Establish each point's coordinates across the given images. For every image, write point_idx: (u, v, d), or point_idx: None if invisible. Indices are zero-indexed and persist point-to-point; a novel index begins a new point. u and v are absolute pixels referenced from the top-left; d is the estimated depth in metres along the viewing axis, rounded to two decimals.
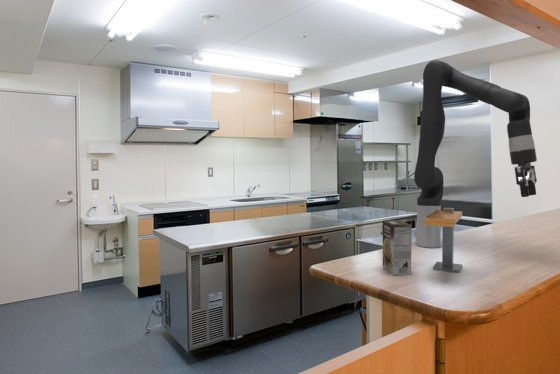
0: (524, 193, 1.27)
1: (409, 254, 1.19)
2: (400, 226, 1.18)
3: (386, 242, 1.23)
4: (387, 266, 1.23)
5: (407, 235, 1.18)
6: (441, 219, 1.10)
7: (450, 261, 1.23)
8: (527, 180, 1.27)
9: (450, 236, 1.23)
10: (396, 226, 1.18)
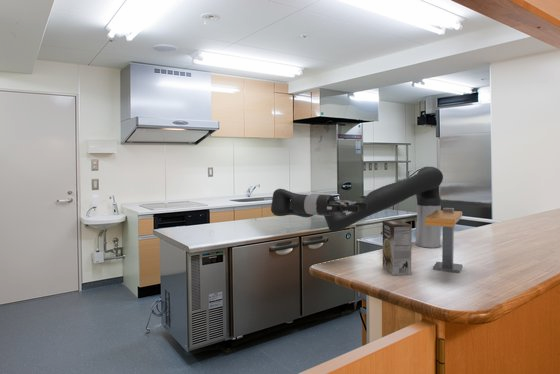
0: (353, 208, 1.24)
1: (409, 254, 1.19)
2: (400, 226, 1.18)
3: (386, 242, 1.23)
4: (387, 266, 1.23)
5: (407, 235, 1.18)
6: (441, 219, 1.10)
7: (450, 261, 1.23)
8: (343, 204, 1.28)
9: (450, 236, 1.23)
10: (396, 226, 1.18)
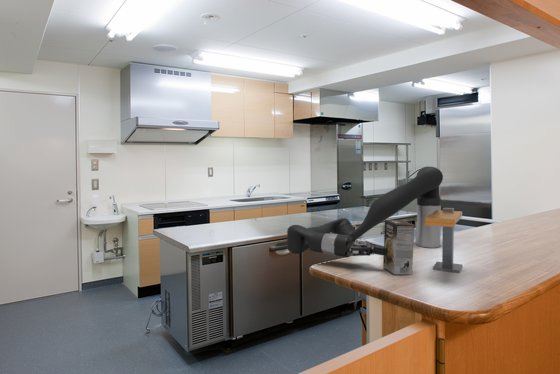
0: (381, 251, 1.23)
1: (410, 254, 1.19)
2: (403, 225, 1.18)
3: (388, 241, 1.23)
4: (388, 266, 1.23)
5: (410, 234, 1.18)
6: (441, 219, 1.10)
7: (450, 261, 1.23)
8: (368, 246, 1.25)
9: (450, 236, 1.23)
10: (399, 225, 1.18)
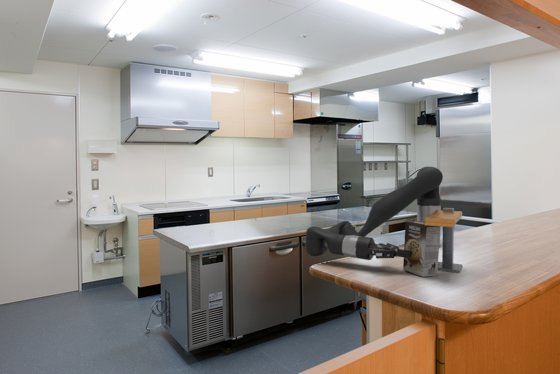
0: (405, 254, 1.19)
1: (436, 255, 1.17)
2: (431, 226, 1.16)
3: (412, 243, 1.19)
4: (412, 268, 1.19)
5: (437, 235, 1.17)
6: (441, 219, 1.10)
7: (450, 261, 1.23)
8: (391, 248, 1.21)
9: (450, 236, 1.23)
10: (428, 226, 1.15)
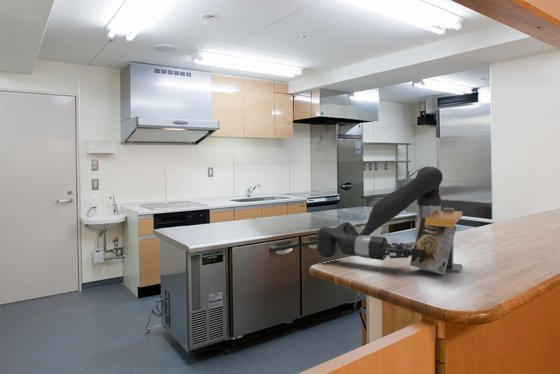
0: (420, 253, 1.17)
1: (448, 255, 1.18)
2: None
3: (426, 238, 1.20)
4: (422, 263, 1.18)
5: (452, 235, 1.19)
6: (441, 219, 1.10)
7: (450, 261, 1.23)
8: (405, 248, 1.20)
9: None
10: None
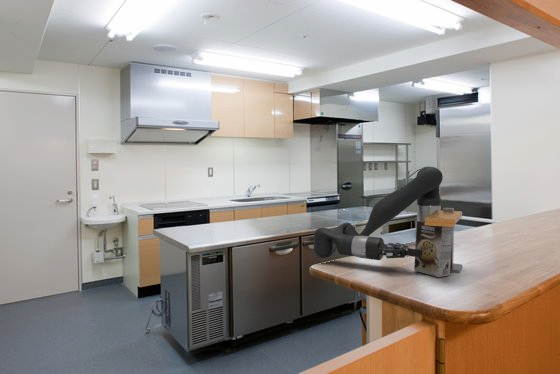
0: (416, 253, 1.18)
1: (449, 255, 1.17)
2: None
3: (425, 243, 1.18)
4: (426, 269, 1.18)
5: (450, 235, 1.17)
6: (441, 219, 1.10)
7: None
8: (401, 248, 1.21)
9: None
10: (443, 226, 1.15)
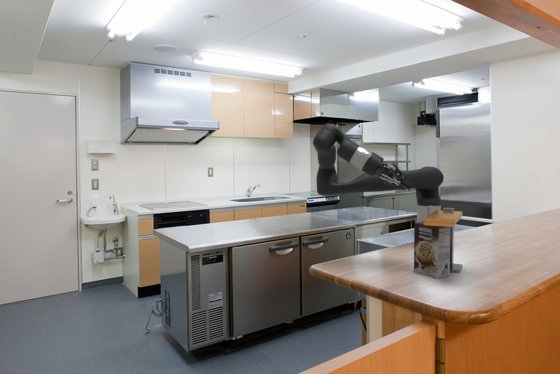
0: (409, 183, 1.25)
1: (448, 255, 1.17)
2: (443, 227, 1.15)
3: (423, 245, 1.18)
4: (425, 270, 1.18)
5: (448, 235, 1.16)
6: (441, 219, 1.10)
7: (450, 261, 1.23)
8: (398, 174, 1.27)
9: (450, 236, 1.23)
10: (440, 227, 1.14)
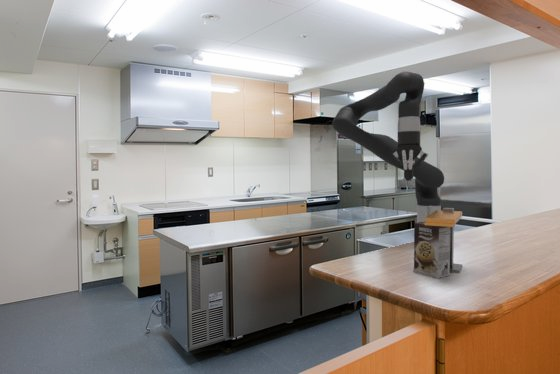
0: None
1: (448, 255, 1.17)
2: (443, 227, 1.15)
3: (423, 245, 1.18)
4: (425, 270, 1.18)
5: (448, 235, 1.16)
6: (441, 219, 1.10)
7: (450, 261, 1.23)
8: None
9: (450, 236, 1.23)
10: (440, 227, 1.14)
